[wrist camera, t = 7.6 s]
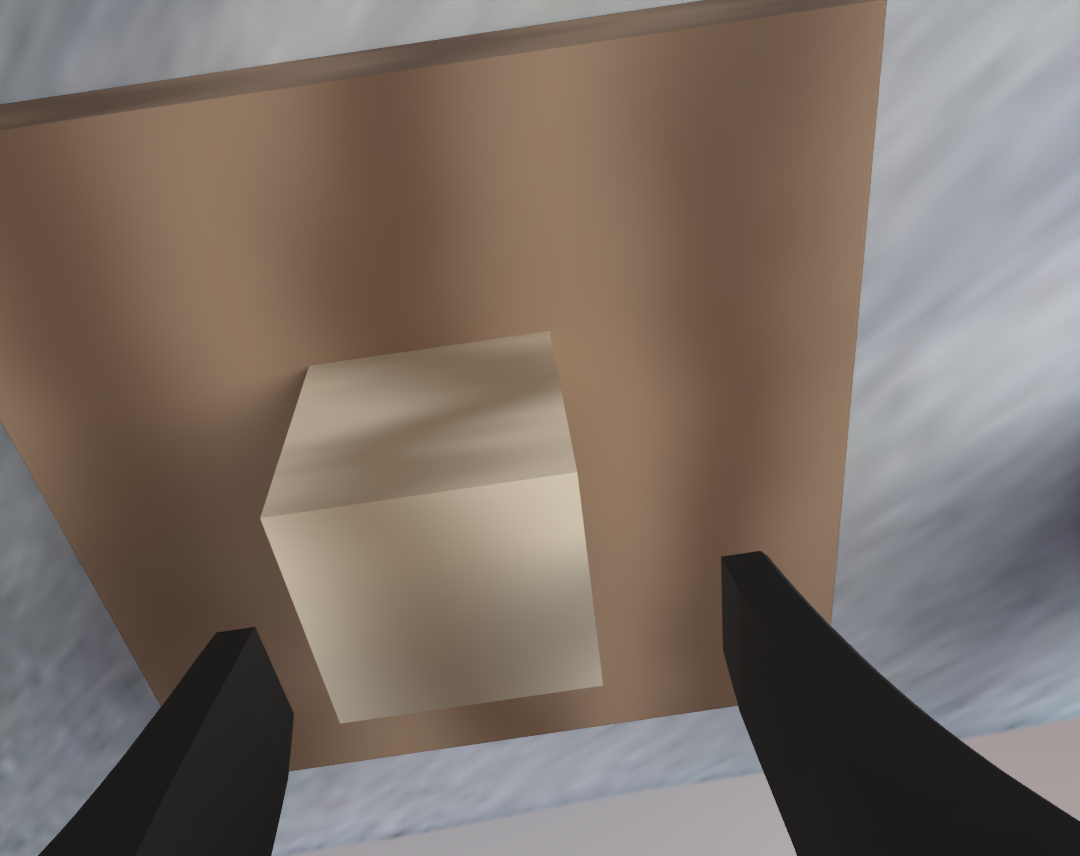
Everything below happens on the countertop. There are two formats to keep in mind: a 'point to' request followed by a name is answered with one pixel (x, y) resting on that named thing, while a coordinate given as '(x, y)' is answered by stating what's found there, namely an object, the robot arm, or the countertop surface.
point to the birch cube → (436, 529)
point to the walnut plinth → (454, 317)
